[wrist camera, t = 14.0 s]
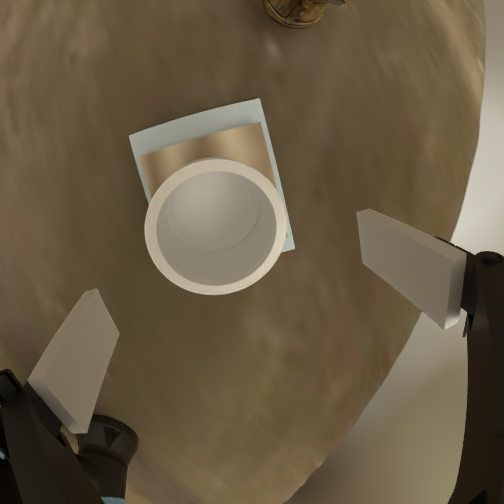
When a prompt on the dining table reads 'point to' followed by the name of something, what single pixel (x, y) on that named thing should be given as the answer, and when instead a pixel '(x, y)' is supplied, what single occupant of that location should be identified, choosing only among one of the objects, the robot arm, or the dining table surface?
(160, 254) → the jar
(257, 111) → the board
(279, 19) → the wooden mug
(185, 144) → the tan flat block
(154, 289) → the dining table surface
